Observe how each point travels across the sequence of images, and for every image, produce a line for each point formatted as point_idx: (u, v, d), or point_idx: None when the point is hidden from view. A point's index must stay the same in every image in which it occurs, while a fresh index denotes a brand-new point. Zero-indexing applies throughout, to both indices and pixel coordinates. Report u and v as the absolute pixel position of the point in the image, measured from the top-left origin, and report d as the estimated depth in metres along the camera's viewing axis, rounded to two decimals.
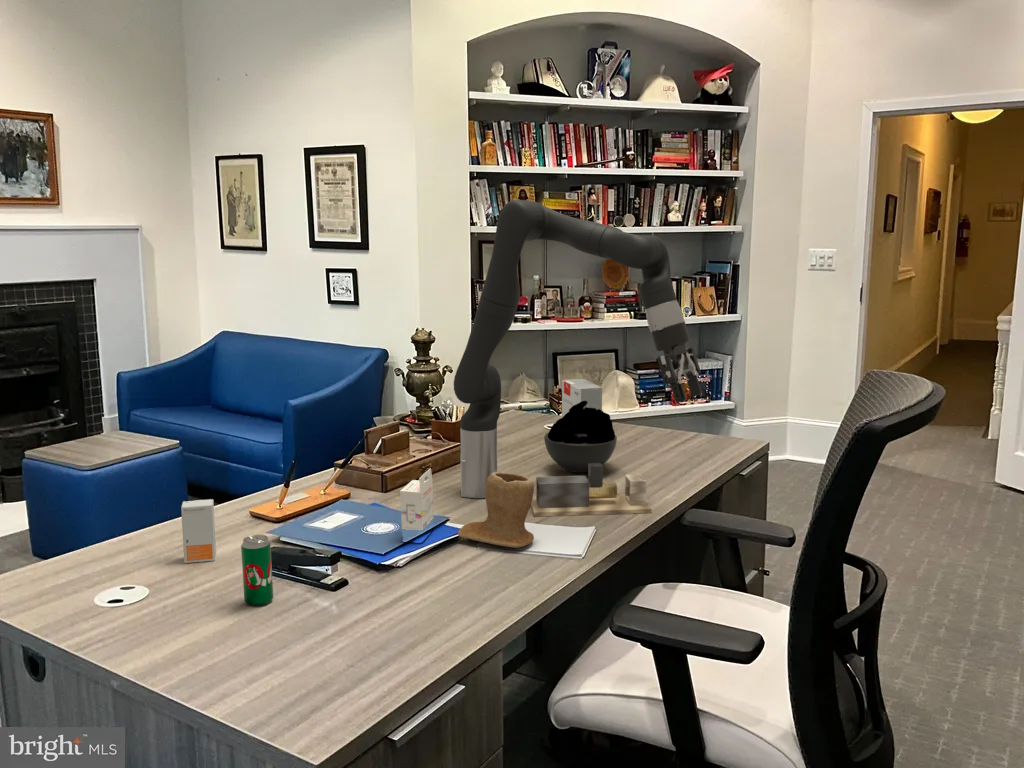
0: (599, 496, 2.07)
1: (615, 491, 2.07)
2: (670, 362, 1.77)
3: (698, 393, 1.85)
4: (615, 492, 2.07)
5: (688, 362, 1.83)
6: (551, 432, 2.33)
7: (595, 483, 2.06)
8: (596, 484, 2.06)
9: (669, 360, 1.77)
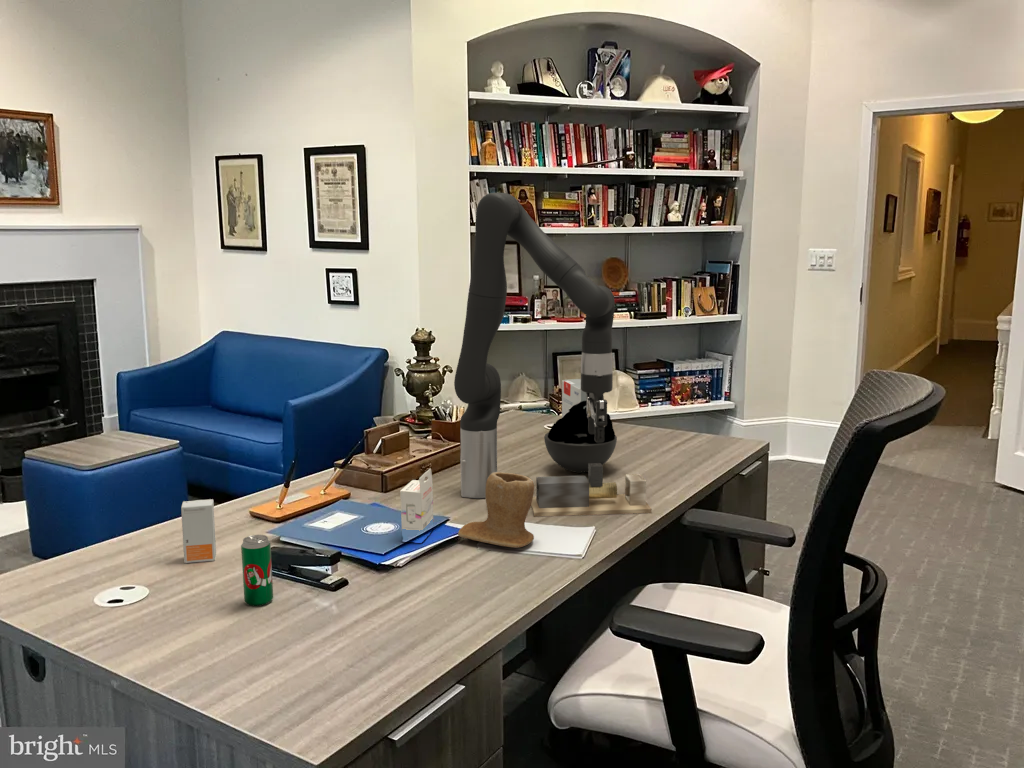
0: (599, 496, 2.07)
1: (615, 491, 2.07)
2: None
3: None
4: (615, 492, 2.07)
5: None
6: (551, 432, 2.33)
7: (595, 483, 2.06)
8: (596, 484, 2.06)
9: (606, 406, 1.98)
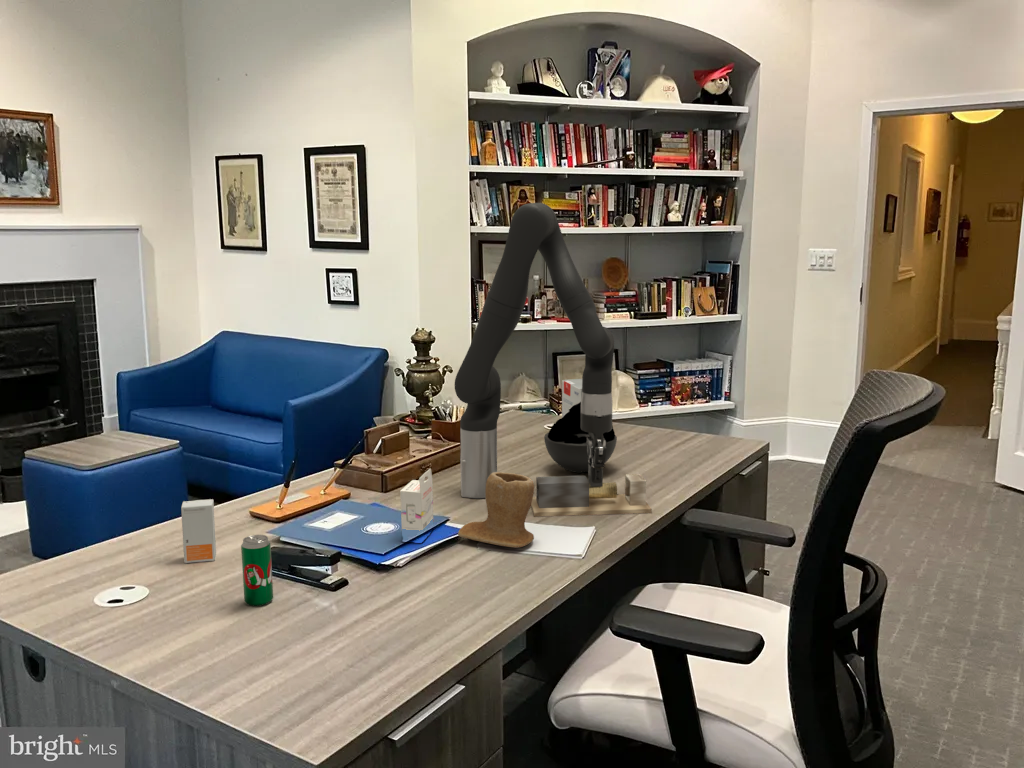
0: (599, 496, 2.07)
1: (615, 491, 2.07)
2: None
3: None
4: (615, 492, 2.07)
5: None
6: (551, 432, 2.33)
7: (595, 483, 2.06)
8: (596, 484, 2.06)
9: None
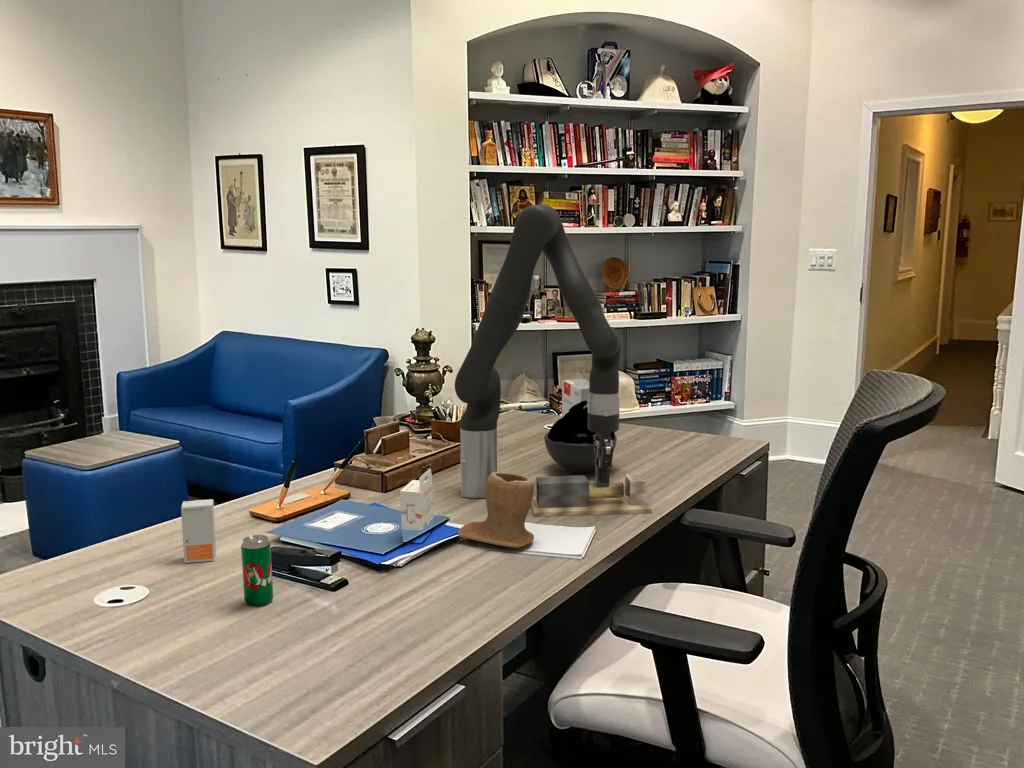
0: (606, 496, 2.07)
1: (622, 491, 2.07)
2: None
3: None
4: (622, 491, 2.07)
5: None
6: (551, 432, 2.33)
7: (602, 483, 2.06)
8: (603, 484, 2.07)
9: (612, 452, 2.01)
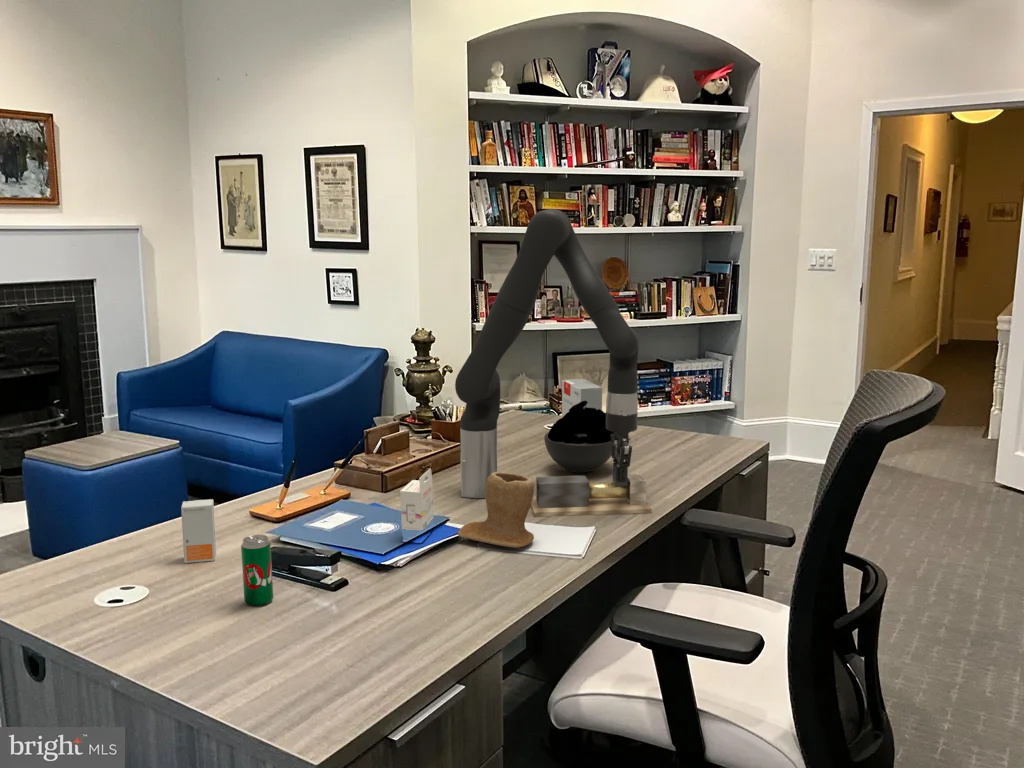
0: (624, 495, 2.07)
1: None
2: None
3: None
4: None
5: None
6: (551, 432, 2.33)
7: None
8: (621, 483, 2.07)
9: None
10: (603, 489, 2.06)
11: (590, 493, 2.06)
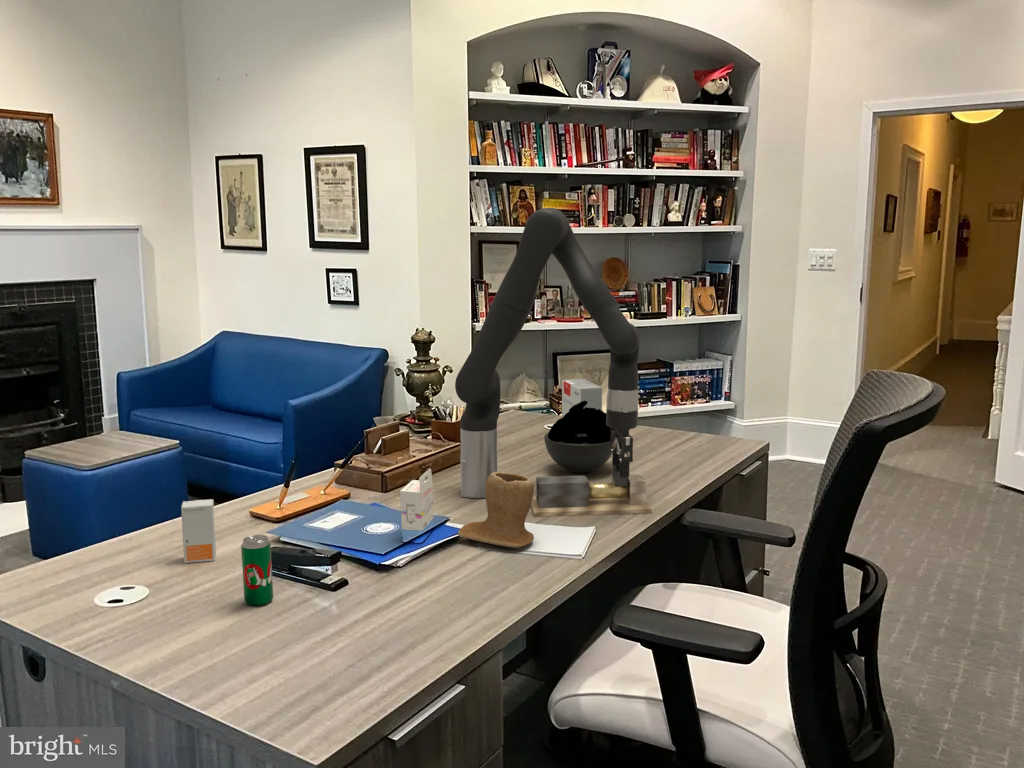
0: (624, 495, 2.07)
1: None
2: None
3: None
4: None
5: None
6: (551, 432, 2.33)
7: (620, 482, 2.07)
8: (621, 483, 2.07)
9: None
10: (603, 489, 2.06)
11: (590, 493, 2.06)
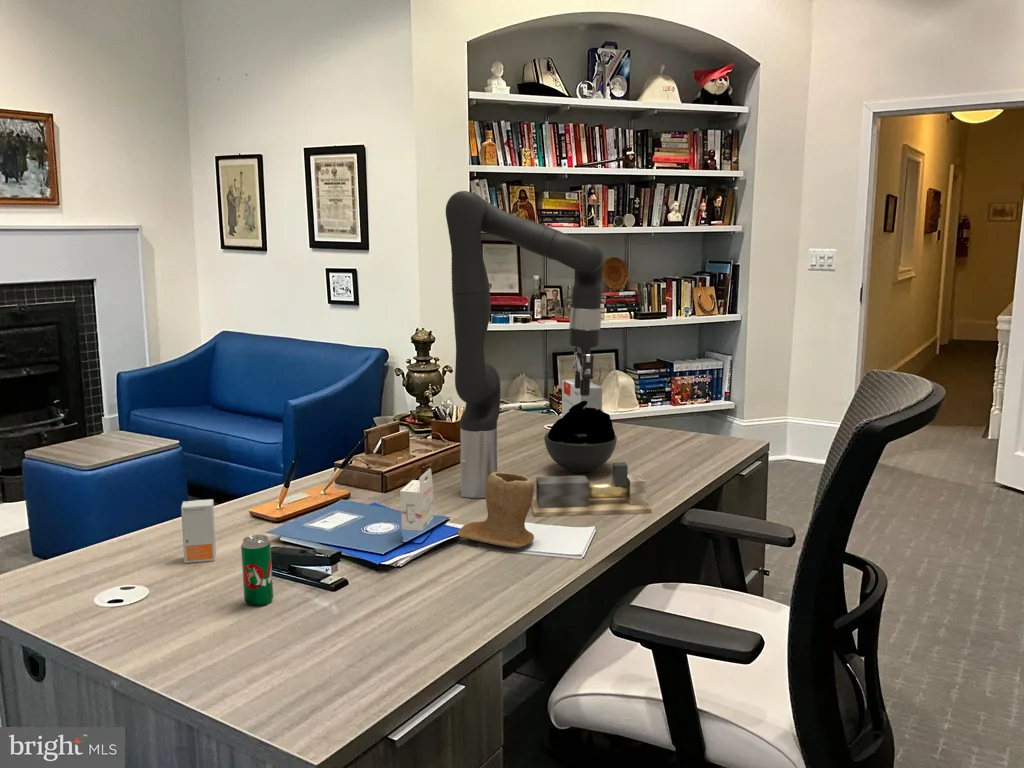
0: (624, 495, 2.07)
1: None
2: (592, 362, 2.04)
3: None
4: None
5: None
6: (551, 432, 2.33)
7: (620, 482, 2.07)
8: (621, 483, 2.07)
9: (592, 360, 2.04)
10: (603, 489, 2.06)
11: (590, 493, 2.06)
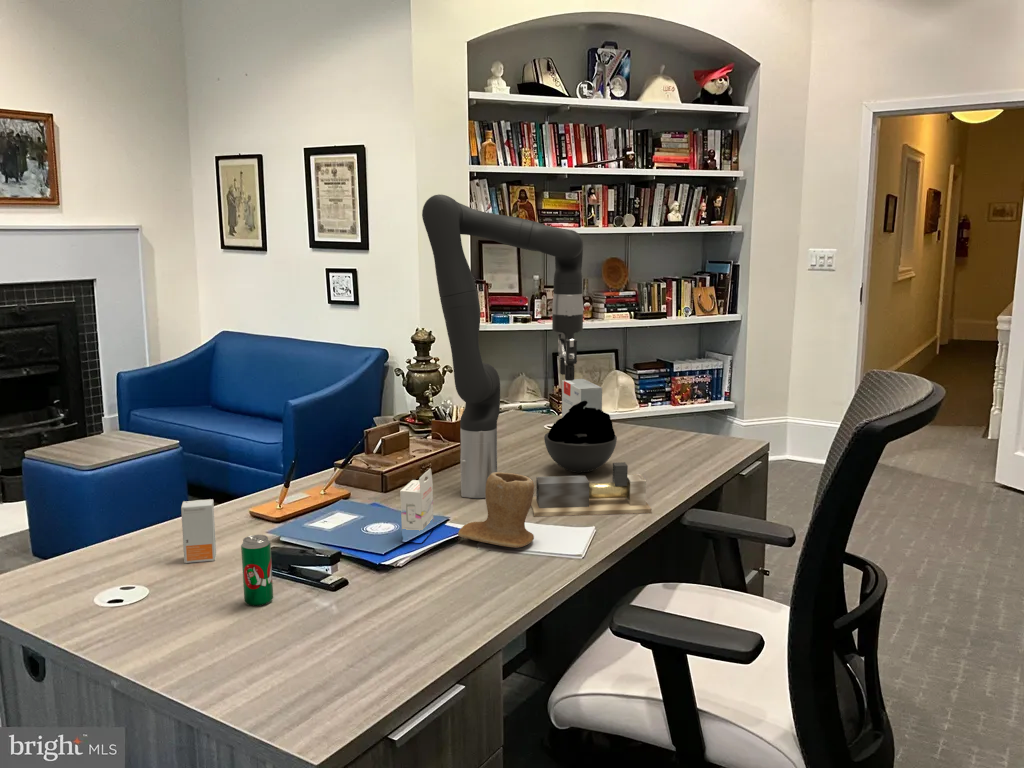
0: (624, 495, 2.07)
1: None
2: None
3: None
4: None
5: None
6: (551, 432, 2.33)
7: (620, 482, 2.07)
8: (621, 483, 2.07)
9: None
10: (603, 489, 2.06)
11: (590, 493, 2.06)
